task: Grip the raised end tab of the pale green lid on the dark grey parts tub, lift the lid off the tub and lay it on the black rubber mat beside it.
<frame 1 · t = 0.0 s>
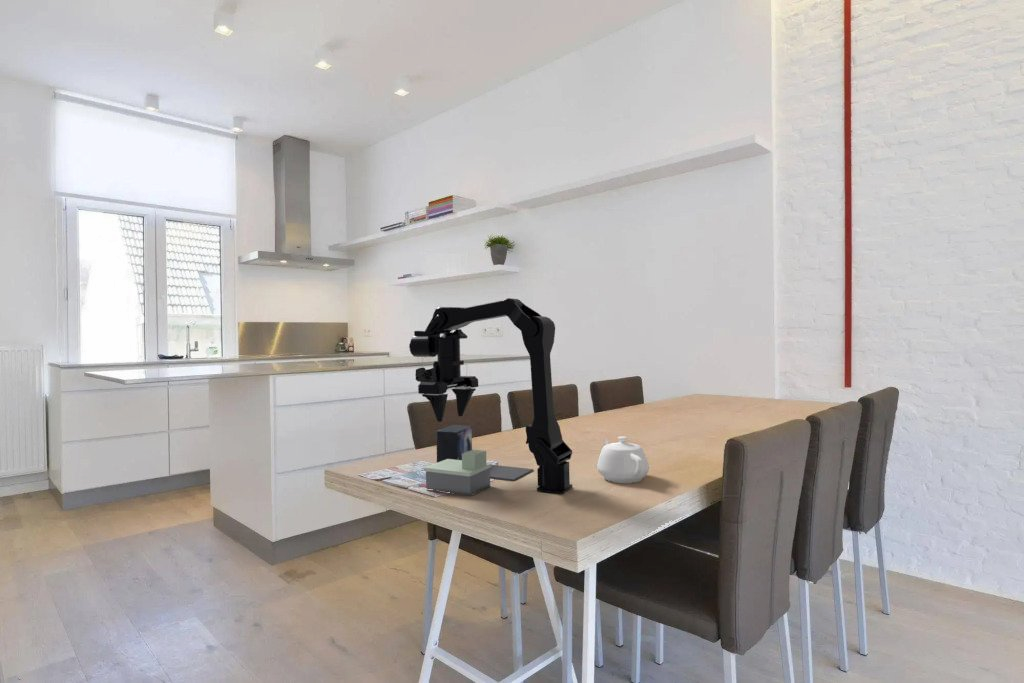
hand: (450, 418, 144), 15 cm above the table, tool pointing down, fingers open, 9 cm apart
lid: (458, 470, 133), point 4 cm above the table, touching tub
teapot: (622, 478, 140), on the table
mat: (499, 472, 147), on the table
tub: (458, 488, 133), on the table
small box: (455, 466, 155), on the table
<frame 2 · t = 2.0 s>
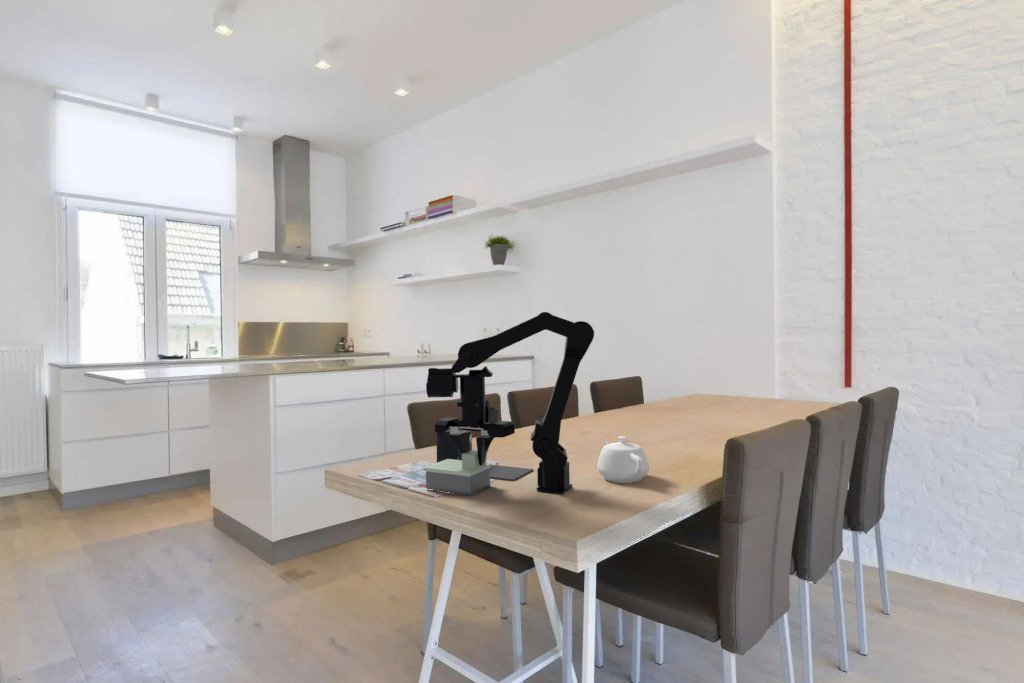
hand: (474, 464, 131), 6 cm above the table, tool pointing down, fingers closed on lid, 3 cm apart
lid: (458, 470, 133), point 4 cm above the table, touching gripper, tub
everything else where it was.
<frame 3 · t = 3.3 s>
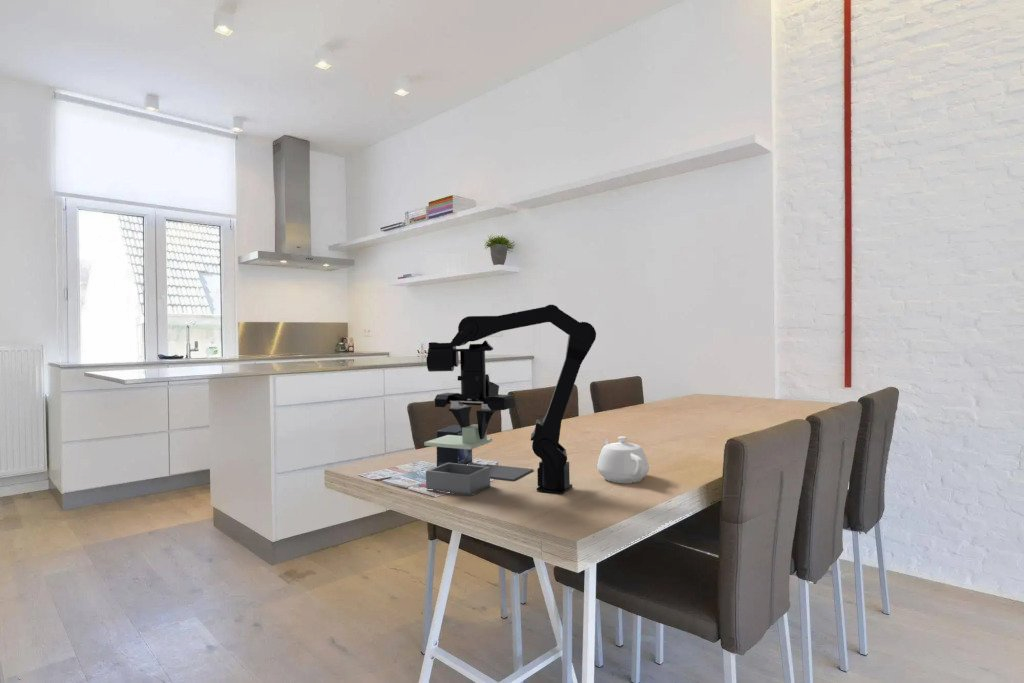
hand: (474, 438, 131), 12 cm above the table, tool pointing down, fingers closed on lid, 3 cm apart
lid: (458, 445, 133), point 10 cm above the table, touching gripper
everything else where it was.
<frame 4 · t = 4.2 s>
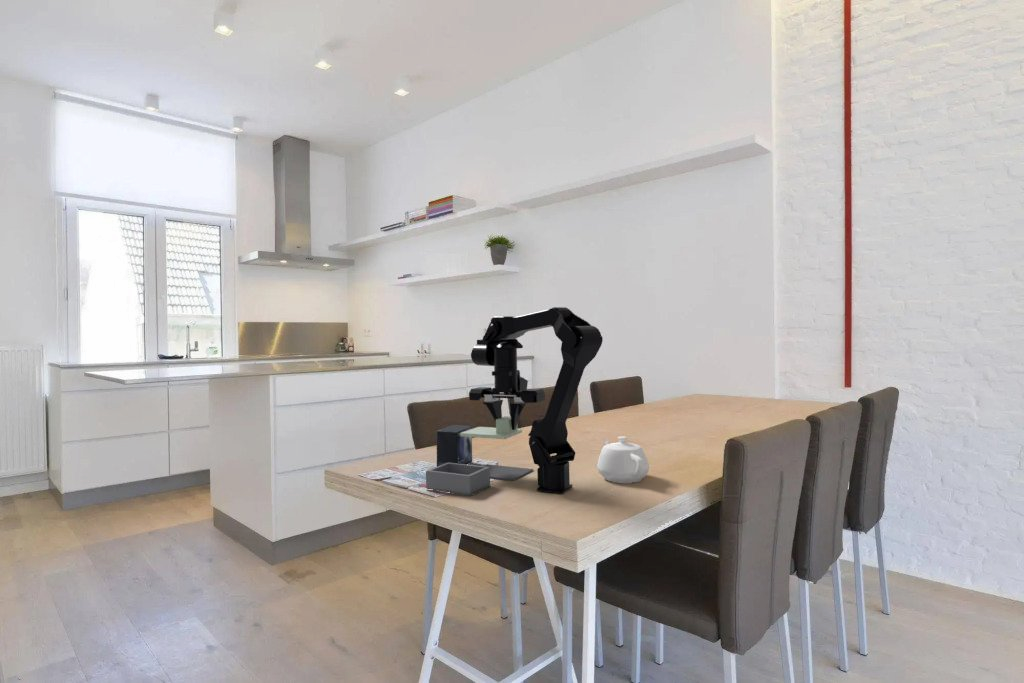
hand: (507, 429, 142), 12 cm above the table, tool pointing down, fingers closed on lid, 3 cm apart
lid: (491, 435, 144), point 10 cm above the table, touching gripper
everything else where it was.
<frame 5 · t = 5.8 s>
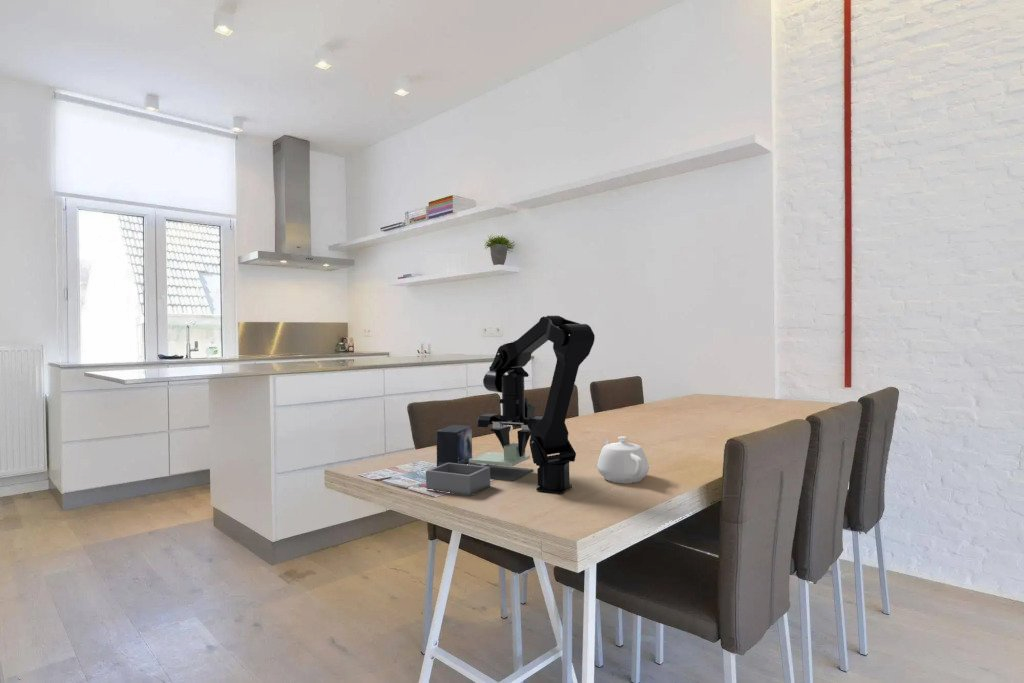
hand: (514, 455, 144), 5 cm above the table, tool pointing down, fingers closed on lid, 3 cm apart
lid: (499, 461, 146), point 3 cm above the table, touching gripper
everything else where it was.
when the fingers open (4 cm above the table, at t = 6.7 s): lid drops 1 cm, resting on mat.
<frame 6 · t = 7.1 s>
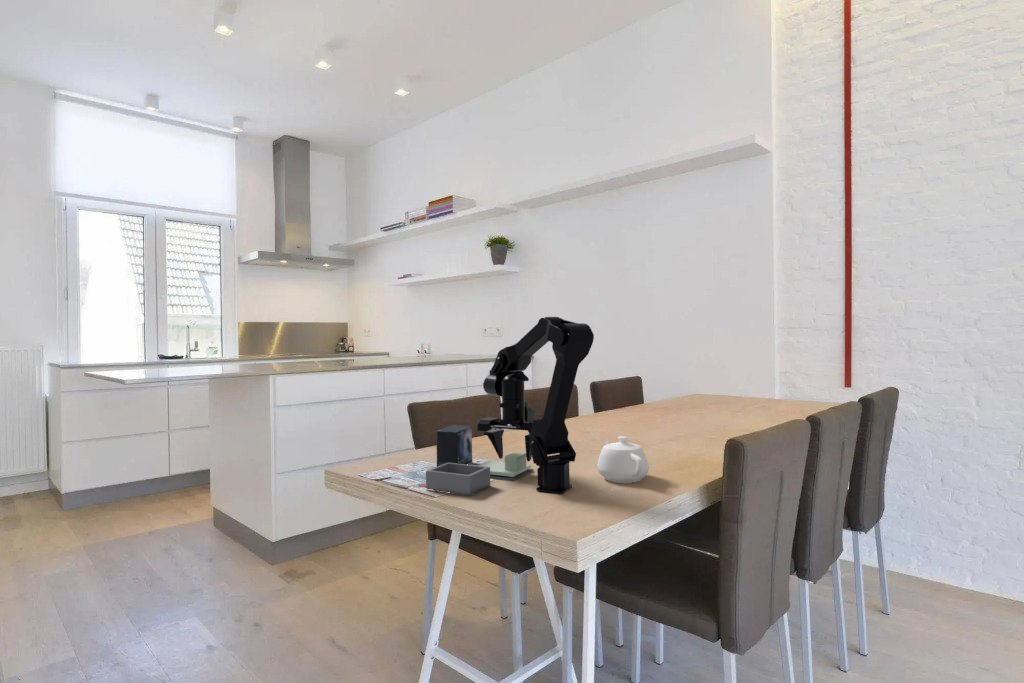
hand: (514, 459, 144), 4 cm above the table, tool pointing down, fingers open, 8 cm apart
lid: (500, 471, 146), resting on mat
everything else where it was.
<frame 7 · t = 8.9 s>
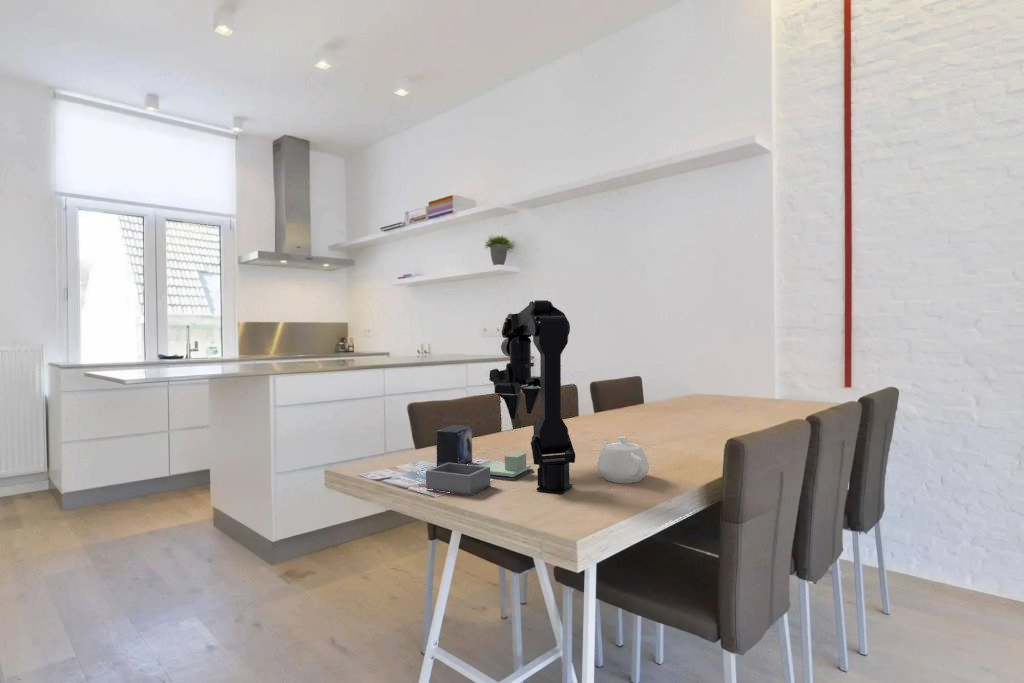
hand: (521, 416, 156), 13 cm above the table, tool pointing down, fingers open, 9 cm apart
nothing on the table moved.
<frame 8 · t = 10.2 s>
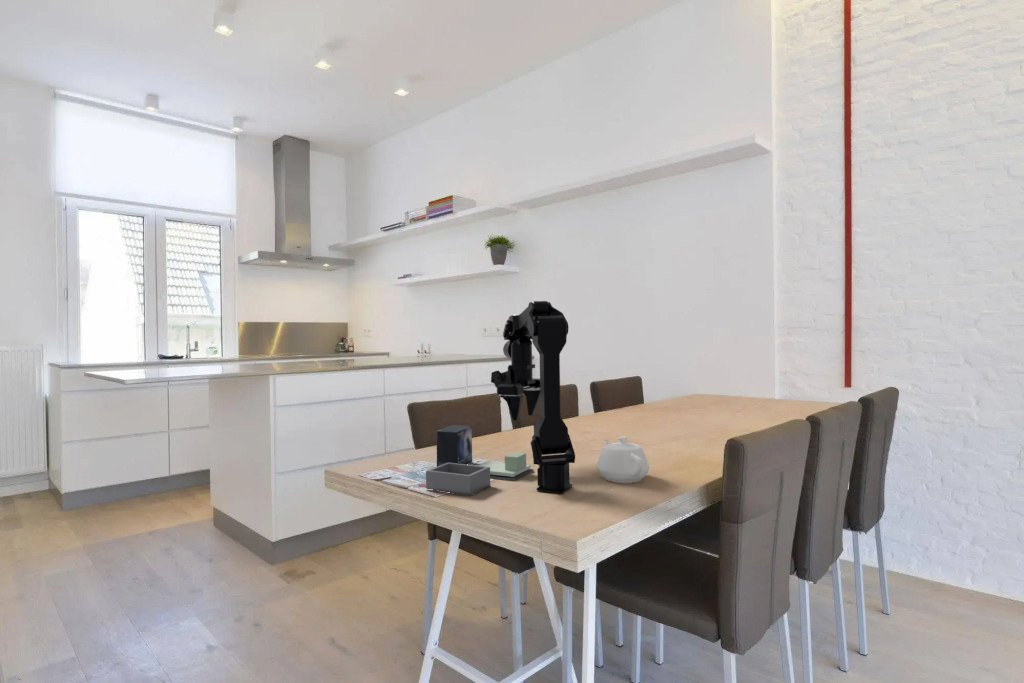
hand: (523, 417, 156), 12 cm above the table, tool pointing down, fingers open, 9 cm apart
nothing on the table moved.
at the end: lid inside the target area on the mat (0.3 cm from its centre), point 0.4 cm above the mat's base; lid touching mat; lid tilted 0° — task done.
